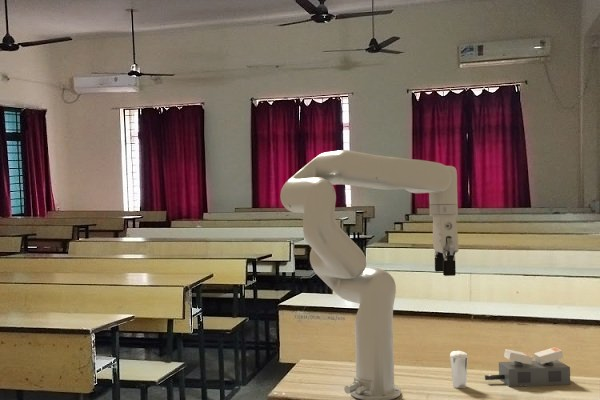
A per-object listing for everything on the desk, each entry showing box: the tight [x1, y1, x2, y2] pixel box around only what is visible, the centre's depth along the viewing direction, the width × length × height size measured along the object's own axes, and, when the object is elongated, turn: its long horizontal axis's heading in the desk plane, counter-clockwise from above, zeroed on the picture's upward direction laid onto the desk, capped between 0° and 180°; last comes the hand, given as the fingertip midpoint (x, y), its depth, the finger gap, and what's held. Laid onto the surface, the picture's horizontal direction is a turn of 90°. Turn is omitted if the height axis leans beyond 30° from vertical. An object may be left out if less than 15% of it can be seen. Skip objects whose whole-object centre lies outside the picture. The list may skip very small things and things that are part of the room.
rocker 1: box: [503, 348, 534, 364], centre depth 157 cm, size 6×4×2 cm, turn 92°
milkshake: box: [449, 348, 472, 389], centre depth 155 cm, size 4×5×10 cm
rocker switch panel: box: [484, 359, 571, 388], centre depth 157 cm, size 21×7×5 cm, turn 92°
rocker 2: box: [533, 346, 564, 364], centre depth 158 cm, size 6×4×2 cm, turn 93°
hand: (444, 273), depth 165 cm, fingers open, 9 cm apart
